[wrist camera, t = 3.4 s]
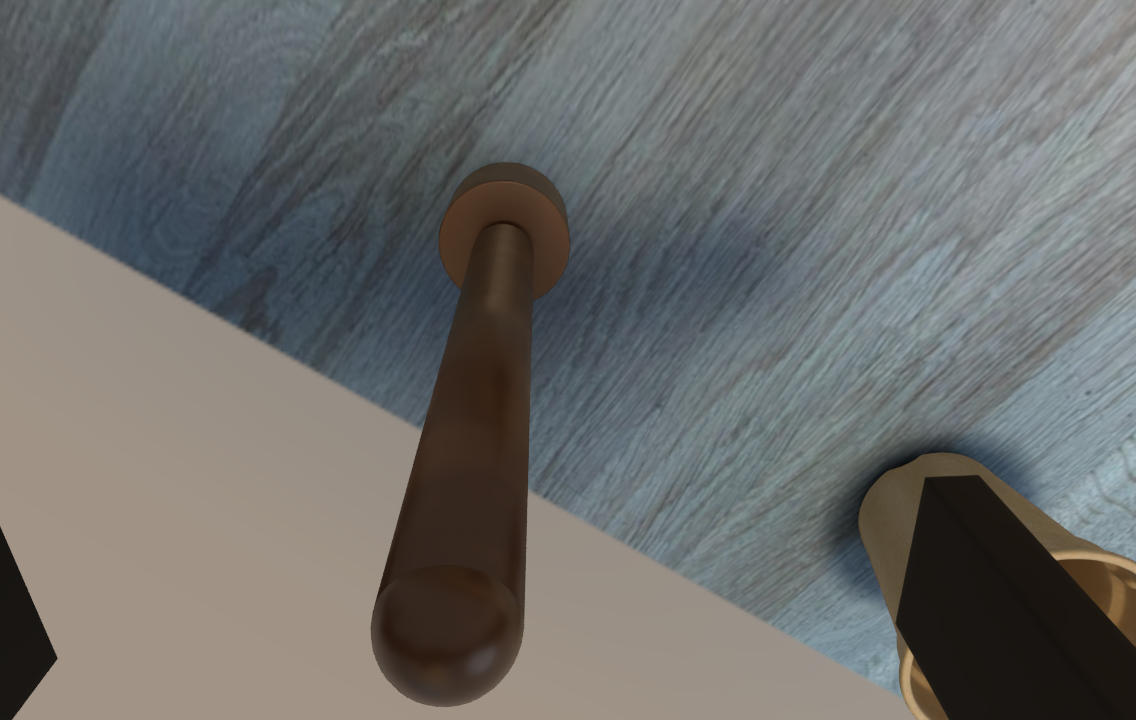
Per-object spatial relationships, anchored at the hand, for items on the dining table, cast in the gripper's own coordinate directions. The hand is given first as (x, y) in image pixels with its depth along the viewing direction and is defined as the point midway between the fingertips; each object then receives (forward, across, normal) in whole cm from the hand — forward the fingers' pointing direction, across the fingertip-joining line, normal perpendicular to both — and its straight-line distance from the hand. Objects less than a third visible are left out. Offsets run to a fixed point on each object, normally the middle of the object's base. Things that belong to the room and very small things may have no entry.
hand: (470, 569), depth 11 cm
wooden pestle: (+19, 0, 0) cm, 19 cm away
